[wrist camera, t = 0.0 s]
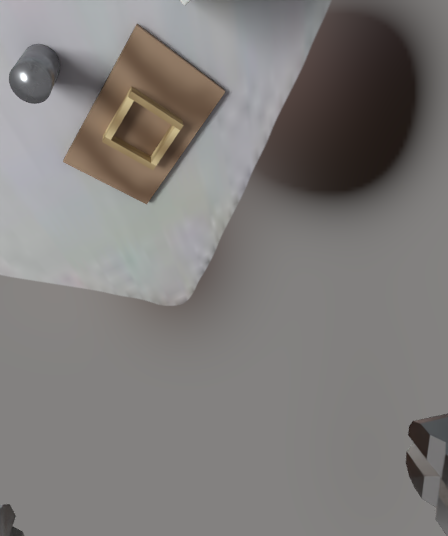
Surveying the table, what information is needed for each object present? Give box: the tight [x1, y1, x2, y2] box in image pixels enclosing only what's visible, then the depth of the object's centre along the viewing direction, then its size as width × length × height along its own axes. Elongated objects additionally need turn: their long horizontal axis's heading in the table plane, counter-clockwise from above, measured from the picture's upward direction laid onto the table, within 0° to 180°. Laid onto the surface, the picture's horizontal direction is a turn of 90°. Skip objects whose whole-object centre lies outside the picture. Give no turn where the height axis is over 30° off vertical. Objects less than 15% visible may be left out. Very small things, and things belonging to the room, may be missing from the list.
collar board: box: [63, 24, 225, 204], centre depth 54 cm, size 20×13×3 cm, turn 143°
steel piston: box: [9, 44, 60, 104], centre depth 45 cm, size 4×4×8 cm
